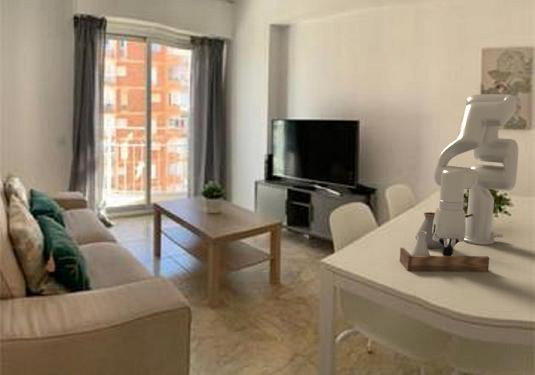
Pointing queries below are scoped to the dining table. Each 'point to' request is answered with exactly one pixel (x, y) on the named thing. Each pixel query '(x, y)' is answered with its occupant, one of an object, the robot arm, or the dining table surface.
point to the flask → (420, 245)
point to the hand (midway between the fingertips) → (447, 257)
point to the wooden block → (444, 262)
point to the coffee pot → (427, 228)
